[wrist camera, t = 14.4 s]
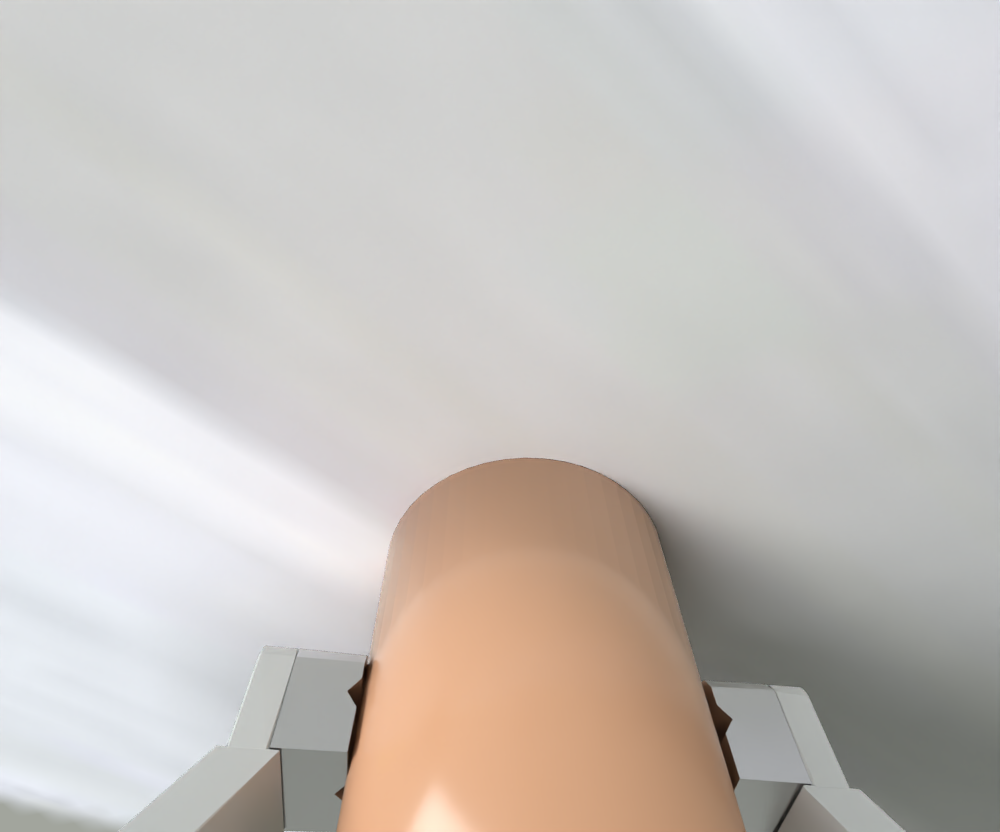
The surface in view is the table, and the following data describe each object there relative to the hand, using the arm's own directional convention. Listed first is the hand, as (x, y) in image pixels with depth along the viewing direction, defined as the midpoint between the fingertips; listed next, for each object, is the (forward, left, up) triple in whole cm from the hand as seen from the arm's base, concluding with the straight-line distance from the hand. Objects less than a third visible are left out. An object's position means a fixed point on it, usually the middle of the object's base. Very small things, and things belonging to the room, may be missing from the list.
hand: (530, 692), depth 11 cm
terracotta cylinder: (0, 0, -3) cm, 3 cm away
